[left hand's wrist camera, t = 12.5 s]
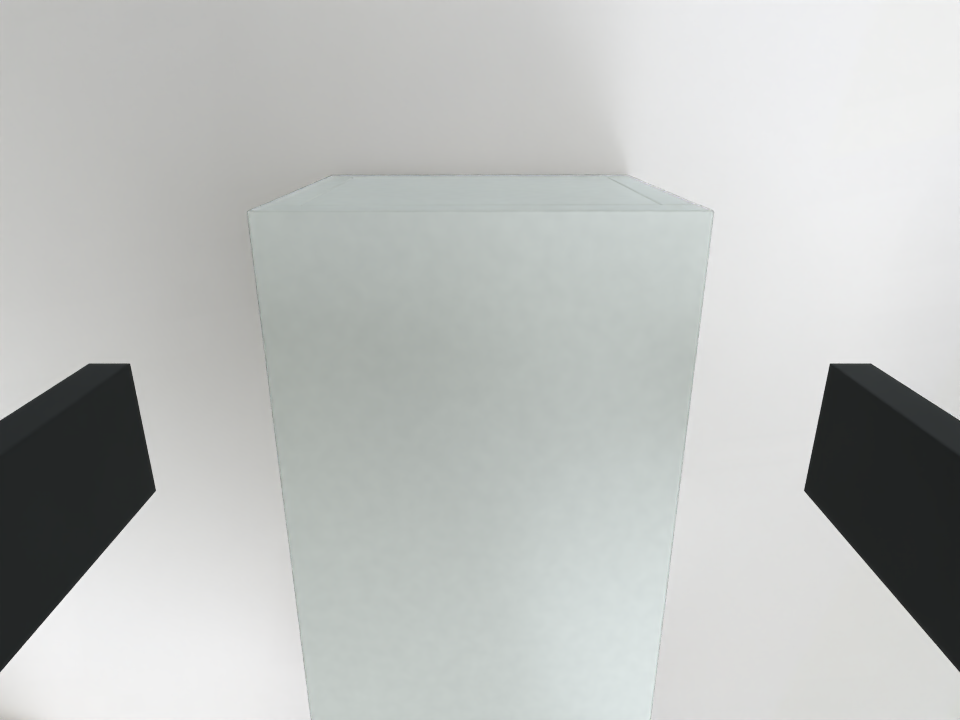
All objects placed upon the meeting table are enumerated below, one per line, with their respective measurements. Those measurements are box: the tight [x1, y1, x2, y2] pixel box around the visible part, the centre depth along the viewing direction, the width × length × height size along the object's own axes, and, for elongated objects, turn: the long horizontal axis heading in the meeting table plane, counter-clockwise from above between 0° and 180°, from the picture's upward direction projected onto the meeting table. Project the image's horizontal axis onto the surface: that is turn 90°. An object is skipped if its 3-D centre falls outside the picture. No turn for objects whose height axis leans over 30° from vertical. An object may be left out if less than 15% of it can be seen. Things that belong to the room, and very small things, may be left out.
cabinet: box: [247, 175, 714, 720], centre depth 24 cm, size 22×12×10 cm, turn 0°
